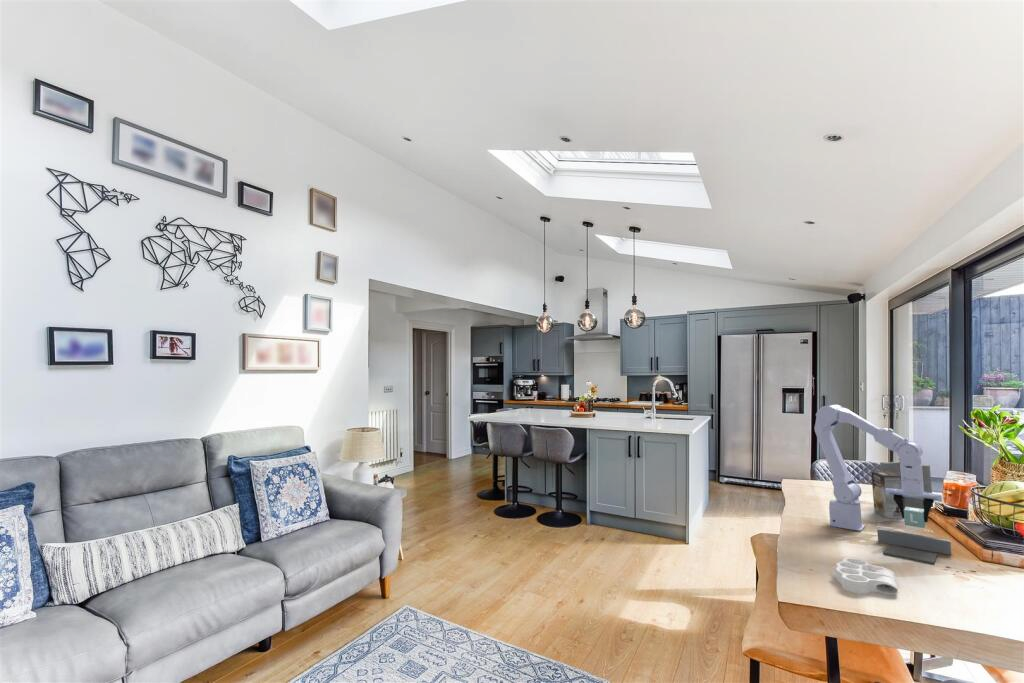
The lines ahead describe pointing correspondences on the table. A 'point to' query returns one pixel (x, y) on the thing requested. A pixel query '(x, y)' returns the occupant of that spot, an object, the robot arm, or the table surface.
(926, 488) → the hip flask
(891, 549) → the mat
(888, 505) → the coffee box
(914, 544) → the panel
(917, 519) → the letter cube
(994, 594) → the table surface
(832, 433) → the robot arm
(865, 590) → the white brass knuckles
